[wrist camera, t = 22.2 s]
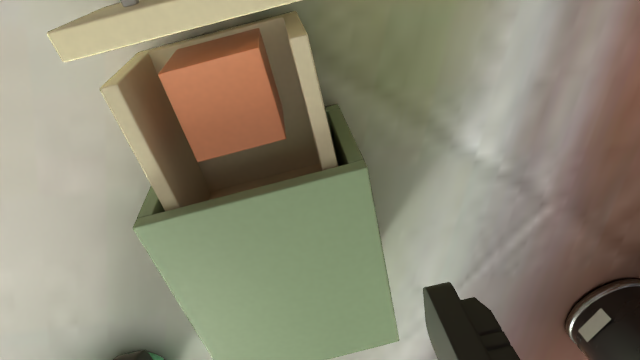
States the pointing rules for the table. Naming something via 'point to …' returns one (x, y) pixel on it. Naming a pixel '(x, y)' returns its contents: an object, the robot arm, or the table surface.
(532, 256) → the table surface
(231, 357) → the cabinet
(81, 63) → the table surface
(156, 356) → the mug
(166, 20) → the drawer
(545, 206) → the table surface
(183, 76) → the block
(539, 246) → the table surface
